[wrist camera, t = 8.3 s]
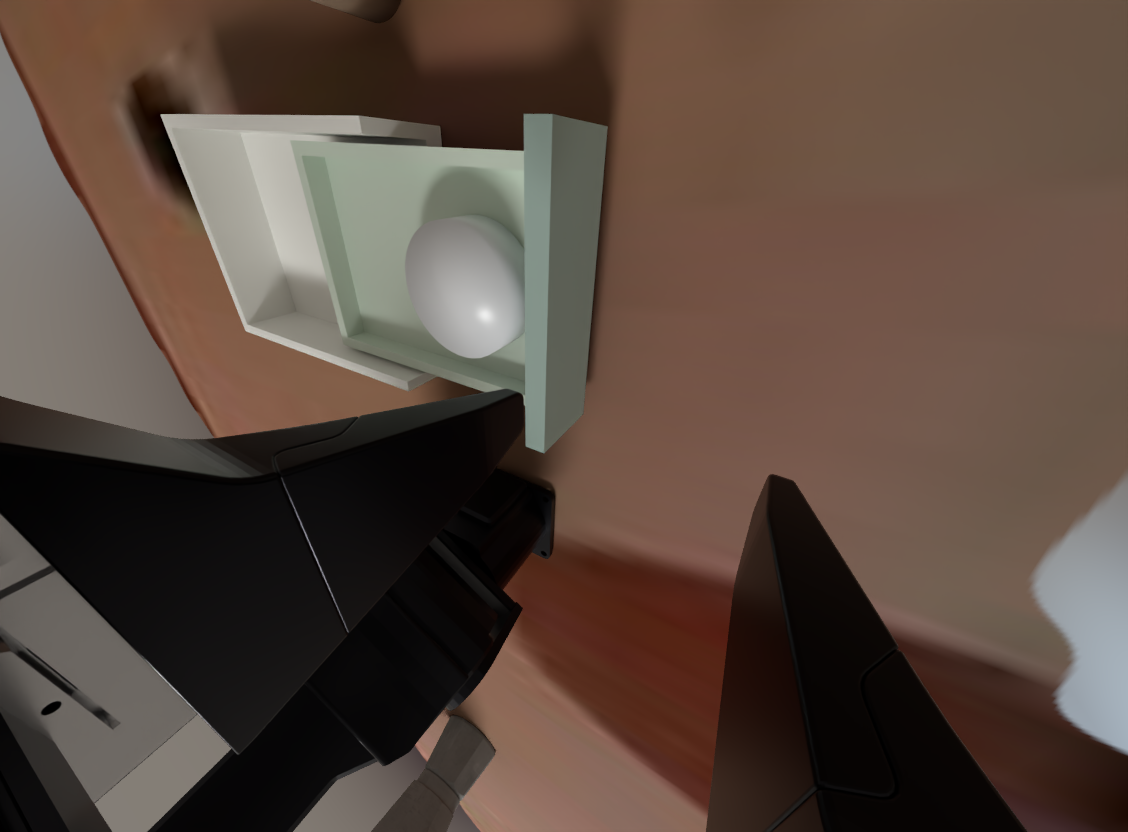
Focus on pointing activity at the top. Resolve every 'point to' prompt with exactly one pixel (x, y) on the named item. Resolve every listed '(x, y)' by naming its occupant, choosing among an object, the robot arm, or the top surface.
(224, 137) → the shallow white bin
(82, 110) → the top surface
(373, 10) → the stand
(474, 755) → the coffeepot
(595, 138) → the drawer
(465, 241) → the dome
